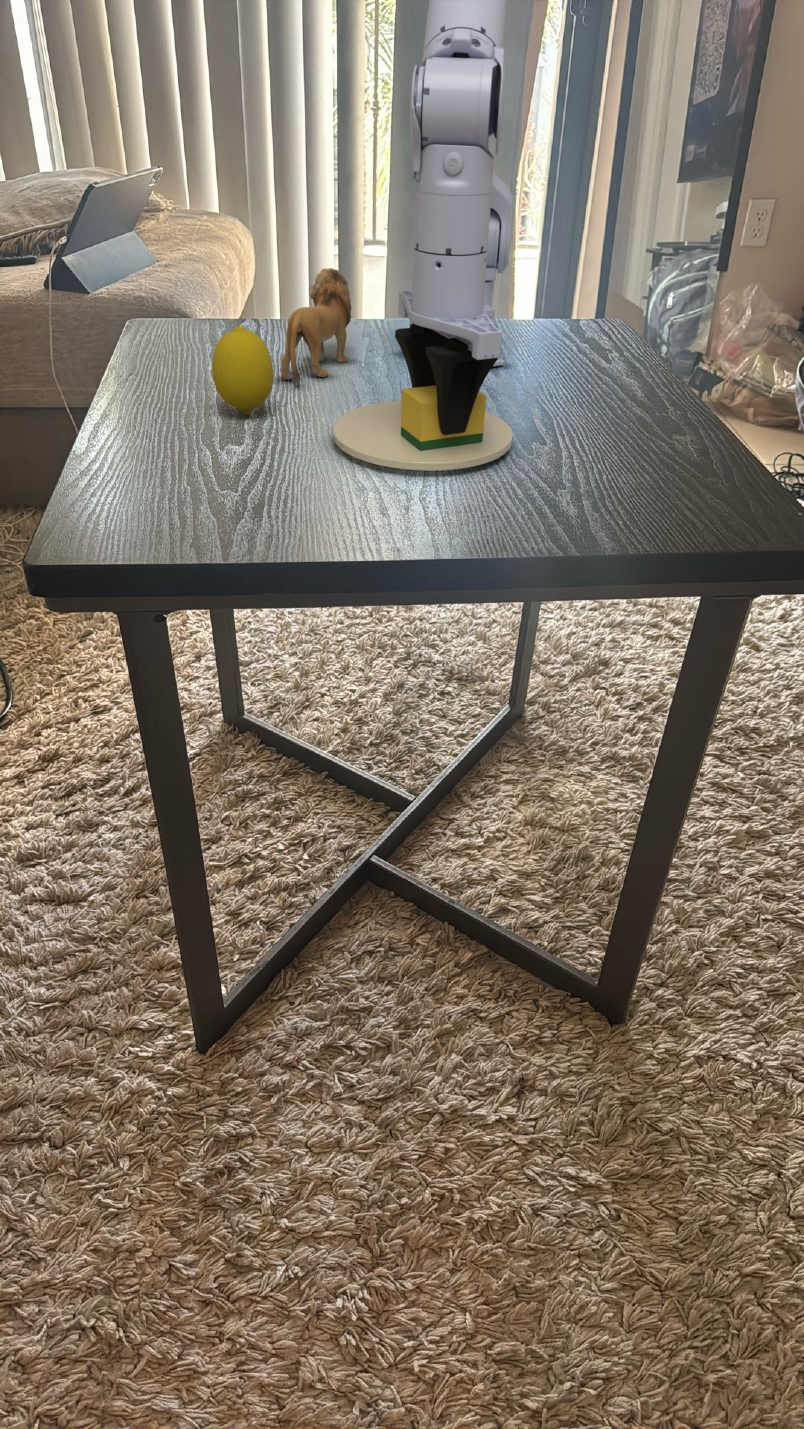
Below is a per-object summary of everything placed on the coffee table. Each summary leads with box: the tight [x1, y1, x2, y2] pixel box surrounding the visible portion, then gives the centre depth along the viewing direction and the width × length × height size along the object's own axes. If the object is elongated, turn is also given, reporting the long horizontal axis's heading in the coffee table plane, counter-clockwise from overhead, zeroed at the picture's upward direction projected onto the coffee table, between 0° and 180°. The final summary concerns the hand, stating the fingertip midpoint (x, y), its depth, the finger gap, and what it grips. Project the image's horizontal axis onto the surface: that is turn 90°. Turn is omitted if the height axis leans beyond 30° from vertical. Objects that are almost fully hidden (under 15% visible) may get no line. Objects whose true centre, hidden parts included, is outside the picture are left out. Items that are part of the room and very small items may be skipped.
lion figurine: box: [281, 267, 352, 384], centre depth 96 cm, size 15×5×9 cm, turn 168°
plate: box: [332, 400, 514, 472], centre depth 81 cm, size 16×16×1 cm
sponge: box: [401, 385, 487, 451], centre depth 78 cm, size 4×6×4 cm, turn 114°
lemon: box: [212, 325, 274, 416], centre depth 84 cm, size 6×6×8 cm
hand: (441, 424), depth 78 cm, fingers closed on sponge, 4 cm apart
